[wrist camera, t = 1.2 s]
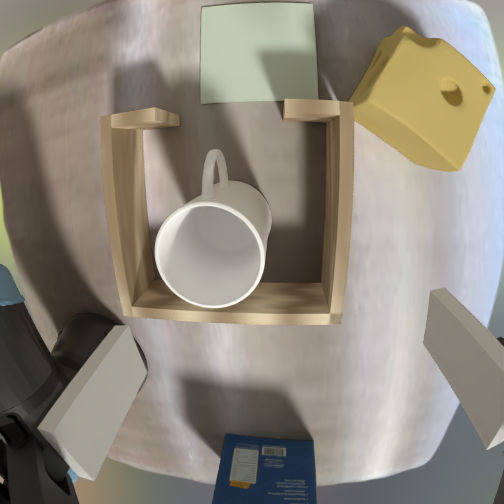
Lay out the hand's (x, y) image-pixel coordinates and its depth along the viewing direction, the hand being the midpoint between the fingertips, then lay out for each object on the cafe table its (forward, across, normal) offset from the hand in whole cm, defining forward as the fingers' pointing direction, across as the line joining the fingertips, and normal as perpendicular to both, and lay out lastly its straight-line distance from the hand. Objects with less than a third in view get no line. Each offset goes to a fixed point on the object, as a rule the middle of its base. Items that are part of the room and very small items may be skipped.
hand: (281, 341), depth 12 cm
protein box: (+22, -6, -41) cm, 47 cm away
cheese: (+21, +15, +12) cm, 29 cm away
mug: (+22, -4, +2) cm, 22 cm away
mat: (+21, +1, +19) cm, 28 cm away
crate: (+22, -4, +2) cm, 22 cm away
